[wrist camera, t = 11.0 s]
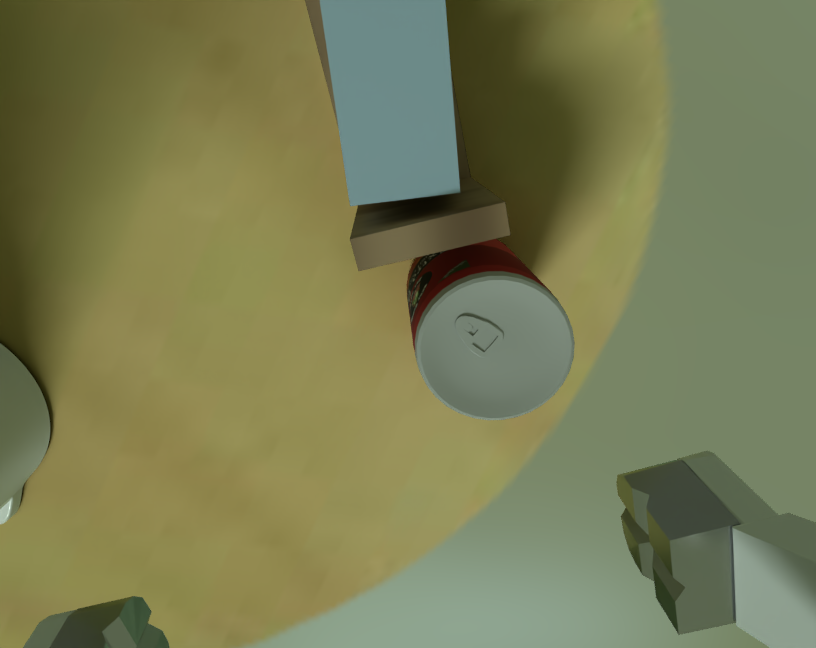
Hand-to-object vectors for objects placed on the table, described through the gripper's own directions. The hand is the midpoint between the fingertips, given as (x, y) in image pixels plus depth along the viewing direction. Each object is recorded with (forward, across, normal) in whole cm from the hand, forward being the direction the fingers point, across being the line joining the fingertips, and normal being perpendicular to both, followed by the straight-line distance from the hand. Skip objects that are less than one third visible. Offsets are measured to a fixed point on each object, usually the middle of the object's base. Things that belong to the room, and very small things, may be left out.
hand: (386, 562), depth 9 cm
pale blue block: (+24, -3, -9) cm, 26 cm away
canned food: (+28, -5, +5) cm, 29 cm away
